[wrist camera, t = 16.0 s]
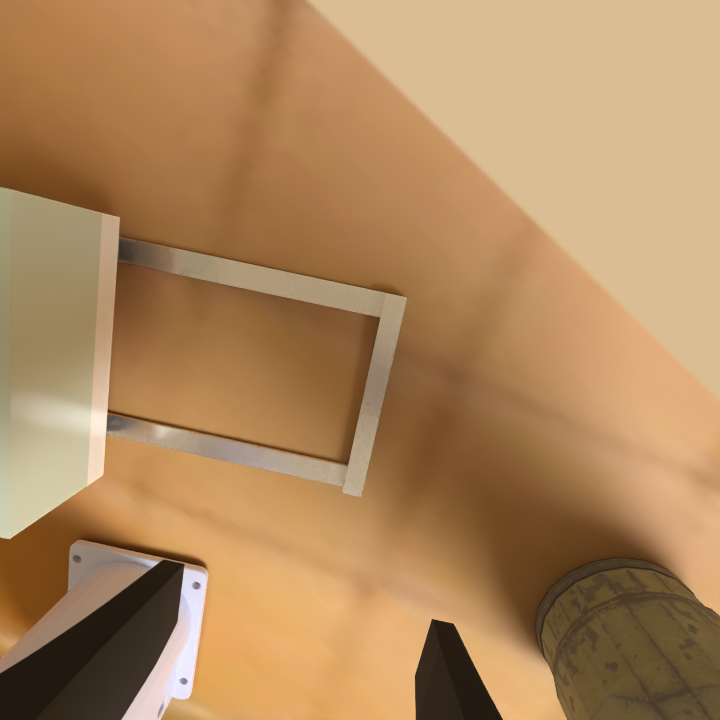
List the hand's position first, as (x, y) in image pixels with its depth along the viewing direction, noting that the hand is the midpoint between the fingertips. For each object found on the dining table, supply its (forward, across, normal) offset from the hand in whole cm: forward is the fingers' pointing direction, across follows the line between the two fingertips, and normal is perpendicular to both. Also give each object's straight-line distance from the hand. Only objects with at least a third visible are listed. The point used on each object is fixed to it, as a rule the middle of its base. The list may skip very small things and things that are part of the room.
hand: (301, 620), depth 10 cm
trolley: (+9, +17, -4) cm, 20 cm away
